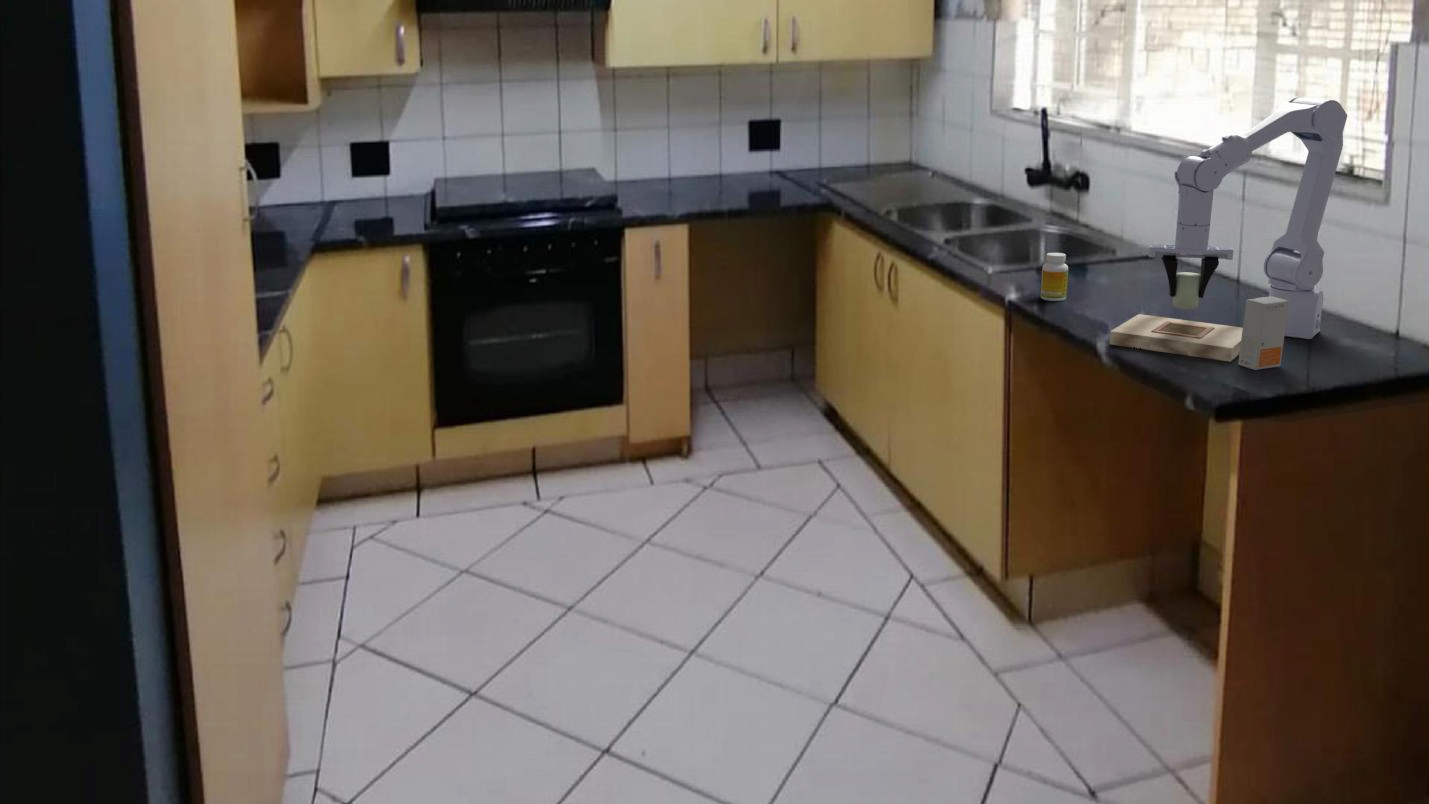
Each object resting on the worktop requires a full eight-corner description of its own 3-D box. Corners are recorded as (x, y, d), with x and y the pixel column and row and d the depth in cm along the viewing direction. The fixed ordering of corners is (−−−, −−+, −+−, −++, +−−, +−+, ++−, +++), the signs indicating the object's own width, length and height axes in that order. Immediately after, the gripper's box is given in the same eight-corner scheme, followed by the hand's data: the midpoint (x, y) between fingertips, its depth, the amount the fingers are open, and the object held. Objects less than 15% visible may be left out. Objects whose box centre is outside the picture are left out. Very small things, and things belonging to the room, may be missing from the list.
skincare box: (1255, 371, 226) (1263, 304, 223) (1237, 365, 230) (1244, 299, 227) (1282, 366, 229) (1290, 300, 225) (1263, 361, 233) (1271, 295, 229)
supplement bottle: (1067, 301, 278) (1070, 256, 275) (1041, 301, 279) (1044, 256, 276) (1065, 296, 283) (1068, 252, 280) (1039, 295, 284) (1042, 251, 281)
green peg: (1196, 304, 245) (1199, 272, 243) (1199, 309, 240) (1202, 277, 239) (1171, 303, 245) (1174, 271, 244) (1174, 308, 241) (1177, 276, 240)
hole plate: (1253, 342, 245) (1255, 328, 244) (1230, 361, 232) (1231, 347, 231) (1137, 326, 257) (1138, 313, 256) (1109, 344, 245) (1110, 330, 244)
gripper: (1232, 220, 240) (1224, 292, 244) (1150, 218, 243) (1143, 289, 248) (1238, 227, 234) (1229, 301, 238) (1153, 225, 237) (1146, 298, 241)
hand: (1186, 296), depth 242 cm, fingers closed on green peg, 4 cm apart
